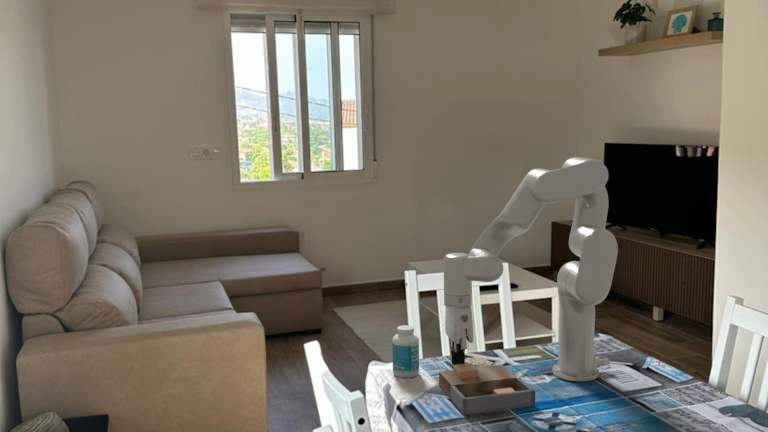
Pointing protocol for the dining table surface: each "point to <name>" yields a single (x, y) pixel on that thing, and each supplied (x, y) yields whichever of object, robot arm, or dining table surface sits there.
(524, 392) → the tray
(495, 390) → the tile
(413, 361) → the pill bottle
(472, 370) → the tile
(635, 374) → the dining table surface
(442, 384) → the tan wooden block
